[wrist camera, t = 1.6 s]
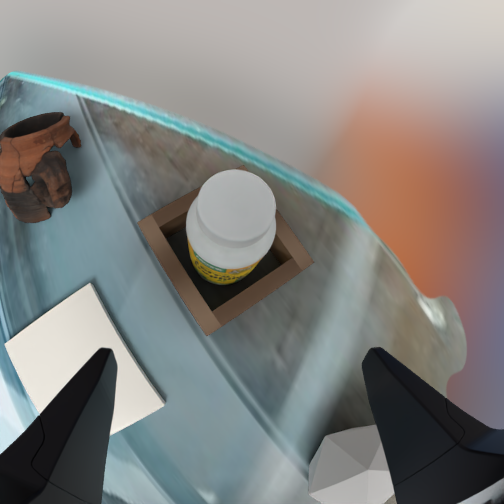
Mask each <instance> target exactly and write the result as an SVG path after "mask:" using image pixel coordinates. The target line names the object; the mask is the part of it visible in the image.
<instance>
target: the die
mask: <svg viewBox="0 0 504 504" xmlns="http://www.w3.org/2000/svg"><path fill="white" fill-rule="evenodd" d="M308 494H309V495H310V496H311V497H313V498H314V499H316V500H317V501H319V502H320V503H322V504H383V503H384V502H386V501H387V500H388V499H389V498H390V497H391V496H392V495H393V494H394V489H393V484H392V480H391V476H390V472H389V468H388V465H387V461H386V457H385V454H384V450H383V446H382V443H381V439H380V436H379V432H378V429H377V426H376V425H370V426H364V427H357V428H351V429H347V430H344V431H340V432H337V433H333V434H330V435H326V436H325V437H324V439H323V441H322V443H321V445H320V447H319V448H318V450H317V452H316V454H315V456H314V457H313V459H312V461H311V462H310V464H309V490H308Z"/></svg>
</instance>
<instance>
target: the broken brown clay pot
mask: <svg viewBox="0 0 504 504" xmlns="http://www.w3.org/2000/svg"><path fill="white" fill-rule="evenodd" d="M69 121H70V117H69V116H64V114H63V113H62V112H52V113H45V114H41V115H37V116H33V117H30V118H27V119H25V120H22V121H20V122H18V123H16V124H14V125H12V126H10V127H9V128H7V129H6V130H5V131H4V132H3V133H2V134H1V135H0V146H1V149H0V189H1V193H2V194H3V196H4V199H5V202H6V204H7V206H8V207H9V208H10V210H11V211H12V212H13V214H14V216H15V217H16V218H17V219H18V220H20V221H23V222H25V223H37V222H40V221H44V220H46V219H49V218H50V217H51V216H50V213H49V211H48V208H47V207H54V208H62V207H64V206H65V205H66V204H67V203H68V202H69V200H70V198H71V196H72V186H71V180H70V177H69V174H68V171H67V168H66V161H65V159H64V158H63V157H62V155H61V153H60V152H58V151H51V152H50V149H51V148H52V147H53V146H54V145H55V146H56V147H57V148H61V147H62V146H63V145H64V144H65V142H67V141H68V140H69V139H70V140H71V142H72V145H73V146H74V147H77V148H79V147H81V140H80V139H79V135H78V134H77V133H76V131H75V130H74V129H73V128H72V127H71V126H70V125H69ZM31 175H32V179H33V180H34V181H35V182H34V184H33V185H32V186H30V184H29V183H28V181H27V180H26V177H29V176H31Z"/></svg>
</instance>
